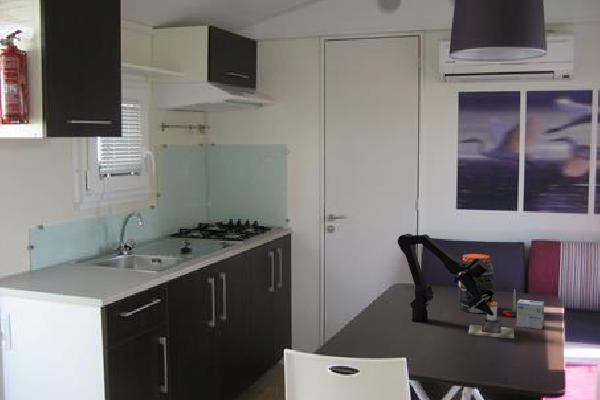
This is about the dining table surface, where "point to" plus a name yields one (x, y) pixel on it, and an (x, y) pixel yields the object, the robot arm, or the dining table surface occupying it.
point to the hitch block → (491, 329)
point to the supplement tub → (487, 275)
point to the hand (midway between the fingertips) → (495, 314)
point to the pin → (494, 309)
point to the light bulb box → (530, 314)
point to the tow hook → (513, 312)
